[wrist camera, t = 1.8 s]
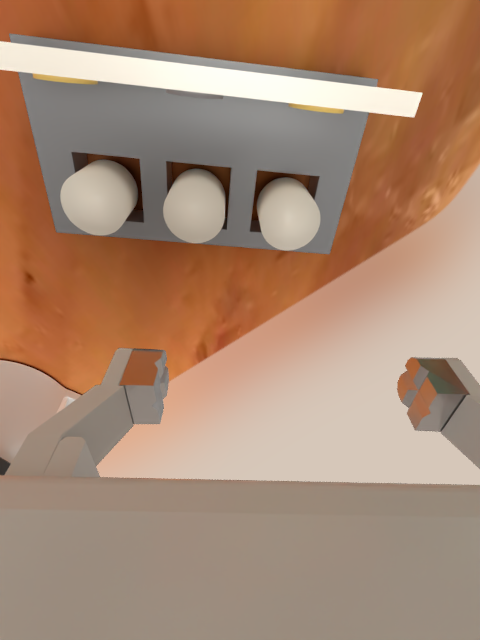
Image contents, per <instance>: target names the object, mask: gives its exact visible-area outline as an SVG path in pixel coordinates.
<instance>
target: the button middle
mask: <svg viewBox="0 0 480 640" xmlns="http://www.w3.org/2000/svg"><path fill="white" fill-rule="evenodd" d="M163 215H164V220H165V222H166V224H167V226H168V228H169V229H170V231H171V232H172V233H173V234H174V235H175V236H177V237H178V238H180V239H181V240H183V241H186V242H190V243H203V242H206V241H209V240H211V239H212V238H214V237H215V236H216V235H217V234H218V233H219V232H220V230H221V229H222V227H223V224H224V220H225V191H224V188H223V185H222V184H221V182H220V180H219V179H218V178H217V177H216V176H215V175H214V174H212V173H211V172H209V171H207V170H204V169H189V170H187V171H184V172H183V173H181V174H180V175H179V176H178V177H177V178H176V180H175V181H174V183H173V185H172V187H171V189H170V191H169V193H168V195H167V197H166V199H165V202H164V206H163Z"/></svg>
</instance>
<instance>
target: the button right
mask: <svg viewBox="0 0 480 640" xmlns="http://www.w3.org/2000/svg"><path fill="white" fill-rule="evenodd" d="M257 213H258V218H259V222H260V227H261V232H262V235H263V237H264V238H265V240H266V241H267V242H268V243H269V244H270V245H271V246H273V247H275V248H277V249H280V250H295V249H298V248H301V247H303V246H305V245H306V244H307V243H309V242H310V241H311V240H312V239H313V238H314V236H315V235H316V233H317V231H318V229H319V226H320V211H319V208H318V206H317V204H316V203H315V201H314V200H313V198H312V197H311V195H310V194H309V192H308V190H307V189H306V188H305V186H304V185H303V184H302V183H301V182H299V181H298V180H296V179H293V178H289V177H282V178H277V179H275V180H273V181H271V182H269V183H268V184H267V185H266V186H265V187H264V188H263V189H262V191H261V192H260V194H259V197H258V200H257Z"/></svg>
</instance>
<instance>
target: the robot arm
mask: <svg viewBox="0 0 480 640" xmlns="http://www.w3.org/2000/svg"><path fill="white" fill-rule="evenodd" d="M166 360H167V357H166V351H165V350H155V349H136V348H134V349H129V348H118V349H117V350H116V351H115V354H114V356H113V358H112V360H111V363H110V365H109V367H108V370H107V372H106V374H105V376H104V379H103V381H102V383H101V385H95V386H94V387H93V388H91V389H90V390H88V391H87V392H86V393H84V394H83V395H80V394H77V393H75V392H73V391H70V390H68V389H66V388H64V387H63V386H61V385H60V384H59V383H57V382H56V381H55V380H54V379H52V378H51V377H49V376H48V375H46V374H44V373H42V372H40V371H38V370H36V369H34V368H31V367H29V366H26V365H23V364H19V363H15V362H10V361H3V360H0V640H480V485H451V484H401V483H400V484H399V483H349V482H299V481H252V480H203V479H202V480H201V479H155V478H108V477H100V476H99V473H98V471H97V468H96V466H97V465H98V464H99V462H100V461H101V460H102V459H103V458H104V457H105V456H106V455H107V454H108V453H109V452H110V451H111V449H112V448H113V447H114V446H115V445H116V444H117V443H118V441H120V439H122V437H123V436H124V435H125V434H126V433H127V432H128V431H129V430H130V429H131V428H132V427H133V424H160V422H161V417H162V413H163V409H164V404H163V399H164V398H165V397H166V395H167V390H168V382H169V373H168V368H167V367H166V366H165V364H166ZM405 366H406V369H407V371H406V372H405V373H403V374H402V375H401V376H400V378H399V380H398V388H397V390H398V395H399V398H400V400H401V402H402V403H403V404H404V405H406V406H407V407H408V408H409V409H408V412H407V415H408V416H409V419H410V420H411V423H412V425H413V427H414V429H415V430H418V431H438V432H441V434H442V435H444V436H445V437H446V438H447V439H448V440H449V441H450V442H451V443H452V444H453V445H454V446H455V447H457V448H458V449H459V450H460V451H461V452H462V453H463V454H464V455H465V456H466V457H468V459H470V460H471V461H472V462H473V463H474V464H475V465H476V466H477V467H478V468H479V469H480V385H479V383H478V382H477V381H476V380H475V378H474V377H473V376H472V374H471V373H470V372H469V370H468V369H467V368H466V366H465V365H464V364H463V362H462V361H461V360H459V359H458V358H416V357H412V358H410V359H409V360H408V361H407V363H406V365H405Z"/></svg>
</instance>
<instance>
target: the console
mask: <svg viewBox="0 0 480 640" xmlns="http://www.w3.org/2000/svg"><path fill="white" fill-rule="evenodd" d="M9 36H10V40H11V43H10V42H2V41H0V70H8V71H17V72H18V74H19V78H20V82H21V86H22V91H23V95H24V99H25V103H26V107H27V112H28V116H29V120H30V124H31V128H32V133H33V137H34V141H35V145H36V149H37V154H38V158H39V162H40V166H41V170H42V175H43V179H44V183H45V187H46V191H47V196H48V200H49V204H50V208H51V212H52V217H53V221H54V225H55V229H56V232H58V233H71V234H83V235H93V234H89V233H87V232H85V231H83V230H81V229H79V228H78V227H77V226H75V225H74V224H73V223H72V222H71V221H70V220H69V218H68V217H67V215H66V214H65V212H64V210H63V208H62V204H61V199H60V194H61V188H62V186H63V184H64V182H65V181H66V180H67V179H68V178H69V177H70V176H72V175H73V174H75V173H76V172H78V171H79V170H81V169H82V168H84V167H85V166H87V165H88V160H87V153H88V154H99V155H109V156H119V157H129V158H139V159H140V172H141V186H142V199H143V210H134V209H133V210H132V212H131V213H130V215H129V216H128V217H127V219H126V220H125V222H124V223H123V225H122V226H121V227H120V228H119V229H118V230H117V231H116V232H114V233H112V234H109V235H103V236H108V237H121V238H133V239H146V240H158V241H171V242H183V243H190V242H186V241H183V240H181V239H180V238H178V237H177V236H175V235H174V234H173V233H172V232H171V231H170V229H169V228H168V226H167V224H166V222H165V220H164V215H163V206H164V202H165V199H166V197H167V195H168V193H169V191H170V189H171V187H172V162H180V163H190V164H200V165H210V166H220V167H230V168H231V171H230V184H229V197H228V211H227V218H226V217H225V220H224V224H223V227H222V229H221V230H220V232H219V233H218V234H217V235H216V236H215V237H214V238H212V239H211V240H209V241H206V242H203V243H196V244H208V245H221V246H233V247H246V248H258V249H270V250H280V249H277V248H275V247H273V246H271V245H270V244H269V243H268V242H267V241H266V240H265V238H264V237H263V235H262V232H261V227H260V222H259V220H251V218H252V209H253V201H254V192H255V184H256V176H257V170H260V171H271V172H281V173H291V174H301V175H311V176H310V181H309V185H308V192H309V194H310V195H311V197H312V198H313V200H314V201H315V203H316V204H317V206H318V208H319V211H320V226H319V229H318V231H317V233H316V235H315V236H314V238H313V239H312V240H311V241H310V242H309V243H307V244H306V245H305V246H303V247H301V248H298V249H295V250H283V251H295V252H308V253H320V254H330V251H331V247H332V244H333V240H334V237H335V233H336V229H337V226H338V222H339V219H340V215H341V211H342V208H343V204H344V201H345V197H346V194H347V190H348V186H349V183H350V179H351V176H352V172H353V168H354V165H355V161H356V158H357V154H358V150H359V147H360V143H361V140H362V136H363V132H364V129H365V125H366V122H367V118H368V115H369V112H371V113H380V114H389V115H397V116H406V117H414V116H415V114H416V111H417V108H418V105H419V102H420V99H421V96H422V94H423V93H420V92H411V91H403V90H395V89H387V88H379V87H376V86H377V82H378V79H372V78H364V77H356V76H348V75H339V74H331V73H323V72H315V71H307V70H299V69H291V68H283V67H275V66H267V65H259V64H251V63H243V62H235V61H227V60H219V59H210V58H202V57H194V56H186V55H178V54H170V53H162V52H154V51H146V50H138V49H130V48H122V47H114V46H106V45H98V44H90V43H81V42H73V41H65V40H57V39H49V38H41V37H33V36H25V35H17V34H9ZM96 236H100V235H96Z"/></svg>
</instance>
